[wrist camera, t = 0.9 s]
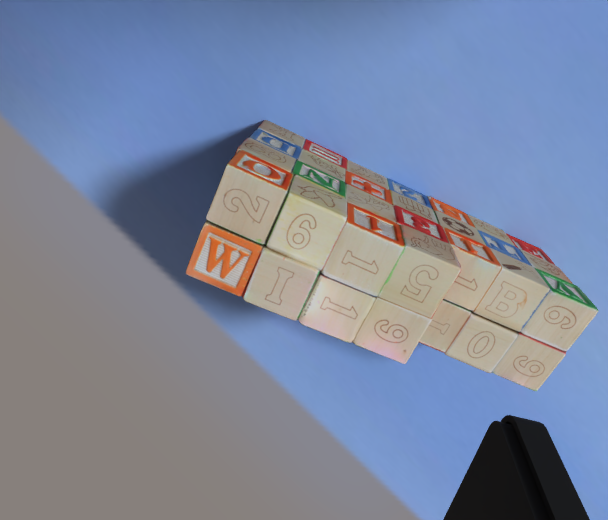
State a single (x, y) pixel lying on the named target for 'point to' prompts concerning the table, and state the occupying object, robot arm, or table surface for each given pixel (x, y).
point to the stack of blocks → (382, 263)
